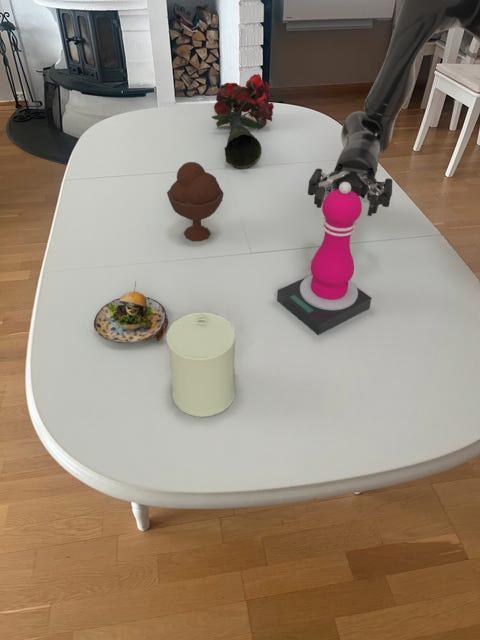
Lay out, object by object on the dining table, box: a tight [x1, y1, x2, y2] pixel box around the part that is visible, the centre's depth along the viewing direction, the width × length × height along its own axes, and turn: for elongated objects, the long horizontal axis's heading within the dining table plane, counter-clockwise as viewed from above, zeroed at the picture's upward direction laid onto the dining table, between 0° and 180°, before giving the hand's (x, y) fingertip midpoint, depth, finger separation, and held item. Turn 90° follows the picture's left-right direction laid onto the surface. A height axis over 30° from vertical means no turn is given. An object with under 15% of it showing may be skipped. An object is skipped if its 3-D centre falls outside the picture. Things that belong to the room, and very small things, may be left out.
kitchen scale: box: [276, 274, 372, 336], centre depth 91 cm, size 12×11×3 cm
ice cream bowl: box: [166, 161, 225, 242], centre depth 103 cm, size 11×11×15 cm
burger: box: [93, 281, 169, 344], centre depth 84 cm, size 12×12×8 cm
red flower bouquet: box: [211, 73, 275, 170], centre depth 141 cm, size 16×18×35 cm
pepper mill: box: [310, 182, 363, 300], centre depth 84 cm, size 7×7×20 cm
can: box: [166, 312, 236, 418], centre depth 72 cm, size 9×9×12 cm
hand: (344, 207), depth 86 cm, fingers open, 8 cm apart
